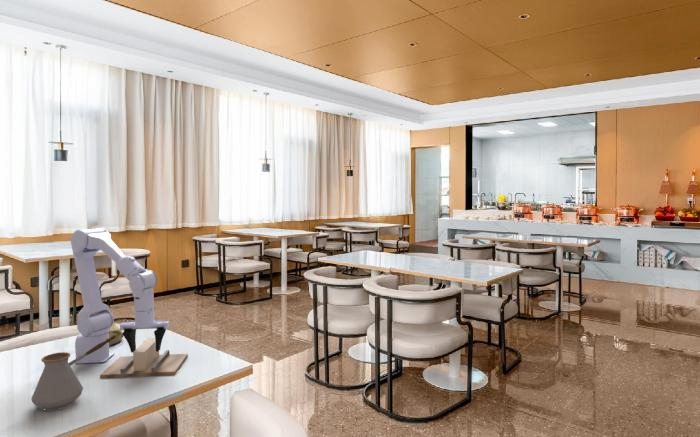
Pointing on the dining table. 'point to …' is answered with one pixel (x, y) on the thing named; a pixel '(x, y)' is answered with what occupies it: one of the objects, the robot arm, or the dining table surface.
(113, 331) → the pastry
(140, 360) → the beige rectangular block
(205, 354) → the dining table surface
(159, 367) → the tan panel with rails
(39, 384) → the coffee pot
